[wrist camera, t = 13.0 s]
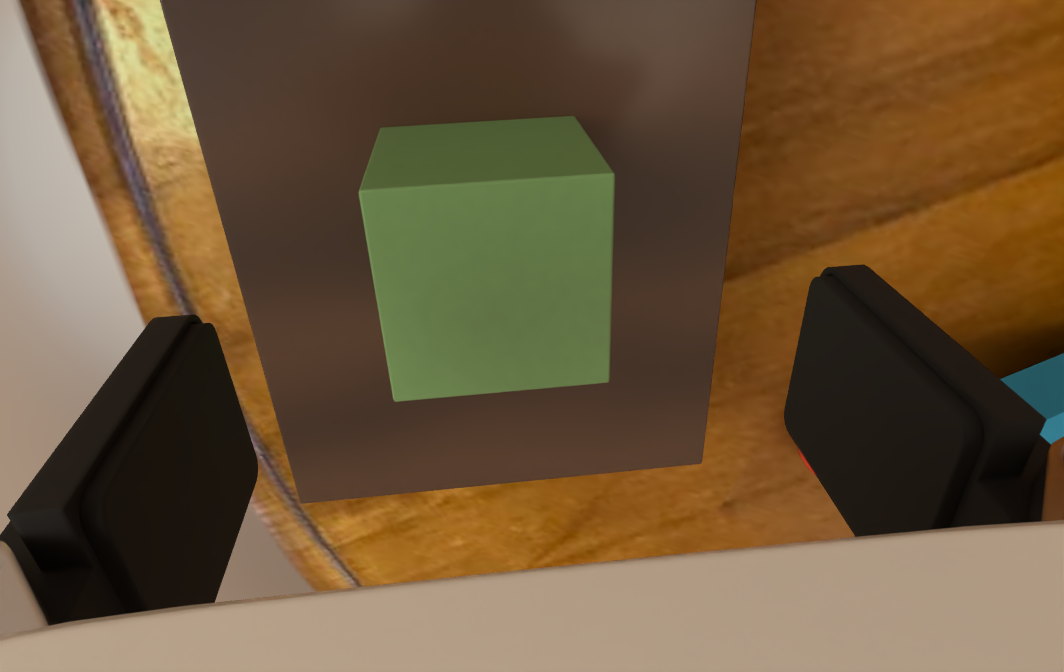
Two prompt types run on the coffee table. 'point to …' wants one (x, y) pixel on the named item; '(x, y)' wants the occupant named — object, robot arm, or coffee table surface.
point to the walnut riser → (456, 97)
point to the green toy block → (490, 255)
